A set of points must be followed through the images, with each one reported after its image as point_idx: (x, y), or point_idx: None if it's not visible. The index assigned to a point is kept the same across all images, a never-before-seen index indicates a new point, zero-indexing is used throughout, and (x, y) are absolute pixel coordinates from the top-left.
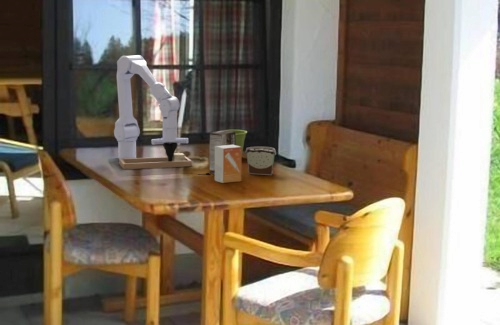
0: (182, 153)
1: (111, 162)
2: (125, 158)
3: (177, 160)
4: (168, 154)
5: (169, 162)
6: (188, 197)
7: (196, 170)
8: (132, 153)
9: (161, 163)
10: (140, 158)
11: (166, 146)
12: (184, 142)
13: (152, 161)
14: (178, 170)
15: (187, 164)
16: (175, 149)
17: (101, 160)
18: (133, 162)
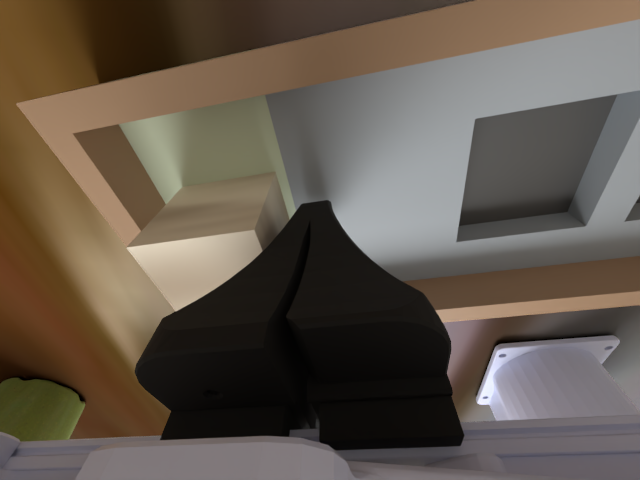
0: (179, 307)
1: (623, 363)
2: (591, 368)
3: (236, 196)
4: (340, 235)
5: (331, 34)
6: None
7: (26, 28)
8: (562, 403)
9: (462, 5)
10: (590, 294)
11: (406, 305)
12: (27, 455)
13: (460, 283)
14: (231, 48)
15: (102, 83)
16: (215, 289)
17: (634, 394)
18: (632, 263)
